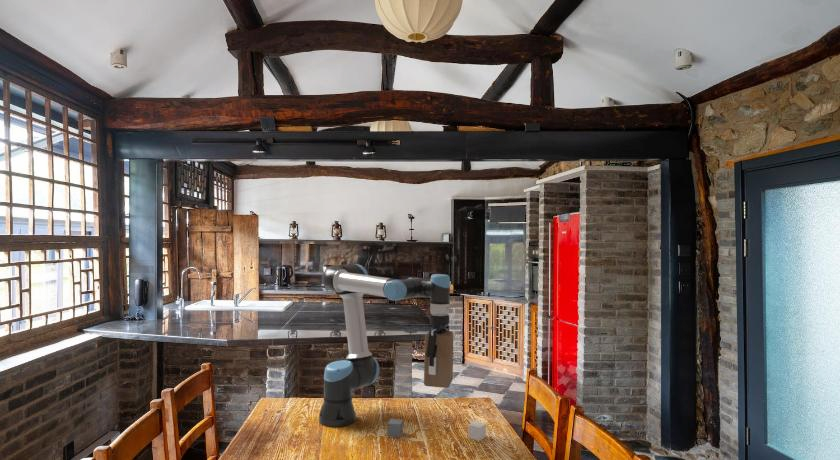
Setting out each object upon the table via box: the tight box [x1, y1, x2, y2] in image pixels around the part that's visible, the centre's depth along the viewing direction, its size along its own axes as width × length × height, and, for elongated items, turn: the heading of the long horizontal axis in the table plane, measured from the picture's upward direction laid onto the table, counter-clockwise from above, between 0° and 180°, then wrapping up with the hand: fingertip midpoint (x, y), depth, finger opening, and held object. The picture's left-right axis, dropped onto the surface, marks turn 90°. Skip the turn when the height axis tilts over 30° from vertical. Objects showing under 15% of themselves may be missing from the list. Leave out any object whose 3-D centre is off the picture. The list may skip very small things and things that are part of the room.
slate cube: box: [386, 418, 404, 438], centre depth 188 cm, size 5×5×5 cm
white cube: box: [467, 420, 487, 442], centre depth 187 cm, size 5×5×5 cm
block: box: [423, 330, 455, 389], centre depth 188 cm, size 10×10×20 cm
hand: (438, 370), depth 188 cm, fingers closed on block, 11 cm apart
